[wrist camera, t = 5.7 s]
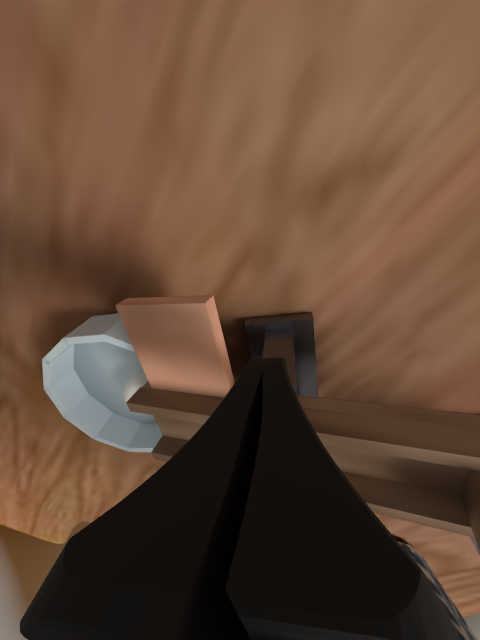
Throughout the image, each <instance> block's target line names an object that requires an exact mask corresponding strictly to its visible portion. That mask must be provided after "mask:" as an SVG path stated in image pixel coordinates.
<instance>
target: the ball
mask: <svg viewBox="0 0 480 640" xmlns="http://www.w3.org/2000/svg"><path fill="white" fill-rule="evenodd" d="M147 381H148V379H147V377H146V375H145V373H144V371H143V372H139V373H137V374H135V375H133V376H132V377H131V378H130V379H129V380H128V381H127V383H126V385H125V388H124V400H125V402H127V401H128V400H129V399H130V398H131V397H132V396H133V394H134V393H135V392H136V391H137V390H138V389H139V388H140V387H143V386H144V385H145V384H146V383H147Z"/></svg>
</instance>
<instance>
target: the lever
mask: <svg viewBox="0 0 480 640" xmlns="http://www.w3.org/2000/svg"><path fill="white" fill-rule="evenodd" d="M115 307H116V309H117V311H118V313H119V316H120V318H121V320H122V322H123V325H124V327H125V329H126V332H127V334H128V336H129V338H130V341H131V343H132V345H133V347H134V350H135V352H136V354H137V357H138V359H139V361H140V363H141V366H142V368H143V370H144V373H145V375H146V377H147V379H148V381H147V383H146V384H145V385H144V386H143V387H140V388H139V389H138V390H137V391H136V392H135V393H134V394H133V396H132V397H131V398H130V399H129V400H128V401H127V402H126V404H127V406H128V408H129V410H130V411H131V412H137V413H143V414H149V415H153V416H154V418H155V420H156V422H157V424H158V427H159V429H160V431H161V433H162V435H163V436H162V437H161V438H160V440H159V441H158V443H157V444H156V446H155V447H154V449H153V450H152V454H153V456H154V458H155V459H157V460H161V461H165V462H168V461H169V460H170V459H171V458H172V457H173V456H174V455H175V454H176V453H177V452H178V451H179V450H180V449H181V448H182V447H183V446H184V445H185V444H186V443H187V442H188V441H189V440H190V439H191V438H192V437H193V436H194V435H195V433H196V432H197V431H198V430H199V429H200V428H201V427H202V426H203V424H204V423H205V422H206V421H207V420H208V418H209V417H210V416H211V415H212V413H213V412H214V411H215V409H216V408H217V407H218V406H219V404H220V403H221V402H222V400H223V399H224V398H225V396H226V395H227V393H228V392H229V390H230V389H231V388H232V386H233V385H234V383H235V382H234V378H233V374H232V370H231V366H230V361H229V357H228V353H227V349H226V345H225V341H224V337H223V333H222V329H221V325H220V321H219V317H218V313H217V308H216V304H215V300H214V296H213V295H202V296H175V297H147V298H126V299H125V300H123V301H121V302H120V303H118V304H117V305H115ZM297 398H298V401H299V403H300V405H301V407H302V409H303V411H304V412H305V414H306V416H307V418H308V420H309V422H310V424H311V425H312V427H313V429H314V430H315V432H316V434H317V435H318V437H319V439H320V440H321V442H322V443H323V445H324V447H325V448H326V450H327V451H328V452H329V454H330V455H331V457H332V458H333V460H334V461H335V463H336V464H337V466H338V467H339V468H340V470H341V471H342V472H343V474H344V475H345V476H346V478H347V479H348V480H349V482H350V483H351V484H352V486H353V487H354V489H355V490H356V491H357V493H358V494H359V495H360V497H361V498H362V499H363V500H364V501H365V503H366V504H367V505H368V506H369V508H370V509H371V510H372V511H373V513H377V514H381V515H385V516H389V517H393V518H397V519H401V520H405V521H409V522H413V523H418V524H422V525H426V526H430V527H434V528H438V529H442V530H446V531H450V532H454V533H458V534H462V535H466V536H470V537H474V538H475V540H476V543H477V546H478V549H479V551H480V415H475V414H466V413H457V412H448V411H438V410H429V409H420V408H411V407H401V406H392V405H383V404H374V403H364V402H355V401H346V400H336V399H327V398H318V397H309V396H299V395H297Z"/></svg>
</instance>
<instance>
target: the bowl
mask: <svg viewBox="0 0 480 640" xmlns="http://www.w3.org/2000/svg"><path fill="white" fill-rule="evenodd" d="M42 365H43V382H44V390H45V391H46V393H47V394H48V396H49V397H50V399H51V400H52V401H53V403H54V404H55V406H56V407H57V409H58V410H59V412H60V413H61V415H62V416H63V418H65V419H66V420H68V421H69V422H70V423H72V424H73V425H75V426H76V427H77V428H79V429H80V430H81V431H83V432H84V433H86V434H87V435H88V436H90V437H91V438H92V439H94V440H97V441H99V442H102V443H105V444H108V445H111V446H114V447H116V448H119V449H122V450H125V451H128V452H152V450H153V449H154V447H155V446H156V444H157V443H158V441H159V440H160V438H161V437H162V436H163V435H162V433H161V431H160V429H159V427H158V424H157V422H156V420H155V418H154V416H153V415H149V414H143V413H137V412H131V411H130V410H129V408H128V406H127V404H126V402H125V400H124V388H125V385H126V383H127V381H128V380H129V379H130V378H131V377H132V376H133V375H135V374H137V373H139V372H143V371H144V370H143V368H142V366H141V363H140V361H139V359H138V357H137V354H136V352H135V350H134V347H133V345H132V343H131V341H130V338H129V336H128V334H127V332H126V329H125V327H124V325H123V322H122V320H121V318H120V316H119V313H117V314H108V315H99V316H92V317H91V318H89V319H88V320H87V321H85V322H84V323H83V324H81V325H80V326H78V327H77V328H76V329H74V330H73V331H72V332H70V333H69V334H68V335H66V336H65V337H64V338H63V339H62V340H61V341H60V342H59V343H58V344H57V345H56V346H55V347H54V348H53V349H52V350H51V351H50V352H49V353H48V354H47V355H46V356H45V357H44V358H43V359H42Z"/></svg>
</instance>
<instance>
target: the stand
mask: <svg viewBox="0 0 480 640" xmlns="http://www.w3.org/2000/svg"><path fill="white" fill-rule="evenodd" d="M245 330H246V335H247V340H248V345H249V350H250V355H251V359H266V358H280V357H283V358H284V359H285V360H286V364H287V371H288V375H289V378H290V381H291V384H292V387H293V389H294V391H295V394H296V396H297V395H299V396H309V397H318V393H317V376H316V359H315V342H314V326H313V316H312V312H310V313H299V314H289V315H278V316H267V317H256V318H246V321H245Z"/></svg>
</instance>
